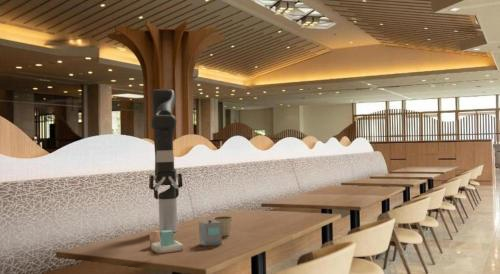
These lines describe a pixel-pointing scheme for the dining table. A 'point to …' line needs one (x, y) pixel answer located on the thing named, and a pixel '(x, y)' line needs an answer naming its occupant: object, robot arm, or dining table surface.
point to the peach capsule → (154, 236)
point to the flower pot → (224, 224)
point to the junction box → (210, 233)
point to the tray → (166, 247)
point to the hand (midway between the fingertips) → (166, 198)
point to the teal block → (167, 238)
